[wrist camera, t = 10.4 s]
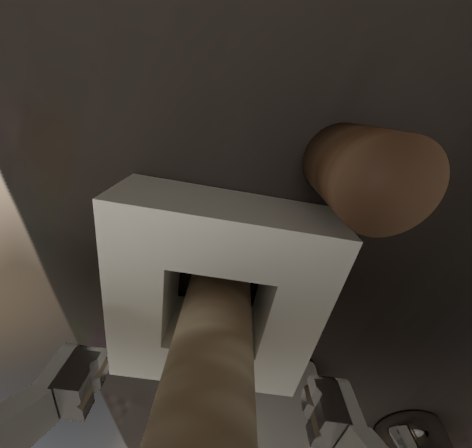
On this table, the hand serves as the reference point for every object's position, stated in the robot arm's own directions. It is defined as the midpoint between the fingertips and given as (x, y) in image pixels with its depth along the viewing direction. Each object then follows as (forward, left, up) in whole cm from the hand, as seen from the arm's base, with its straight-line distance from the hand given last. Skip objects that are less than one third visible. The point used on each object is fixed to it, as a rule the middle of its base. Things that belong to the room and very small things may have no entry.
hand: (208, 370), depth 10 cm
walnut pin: (-5, -8, -7) cm, 12 cm away
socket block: (0, 0, -7) cm, 7 cm away
